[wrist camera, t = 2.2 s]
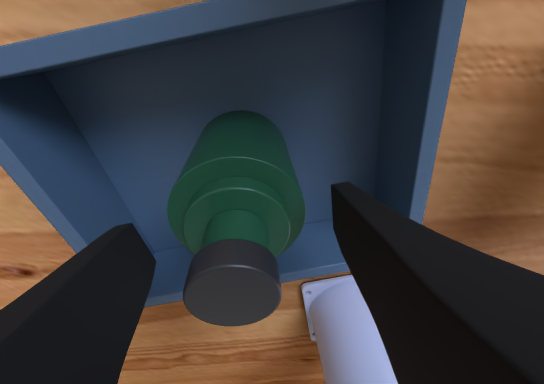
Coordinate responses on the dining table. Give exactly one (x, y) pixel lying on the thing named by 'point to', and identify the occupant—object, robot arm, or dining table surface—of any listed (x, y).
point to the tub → (225, 98)
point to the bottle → (236, 218)
